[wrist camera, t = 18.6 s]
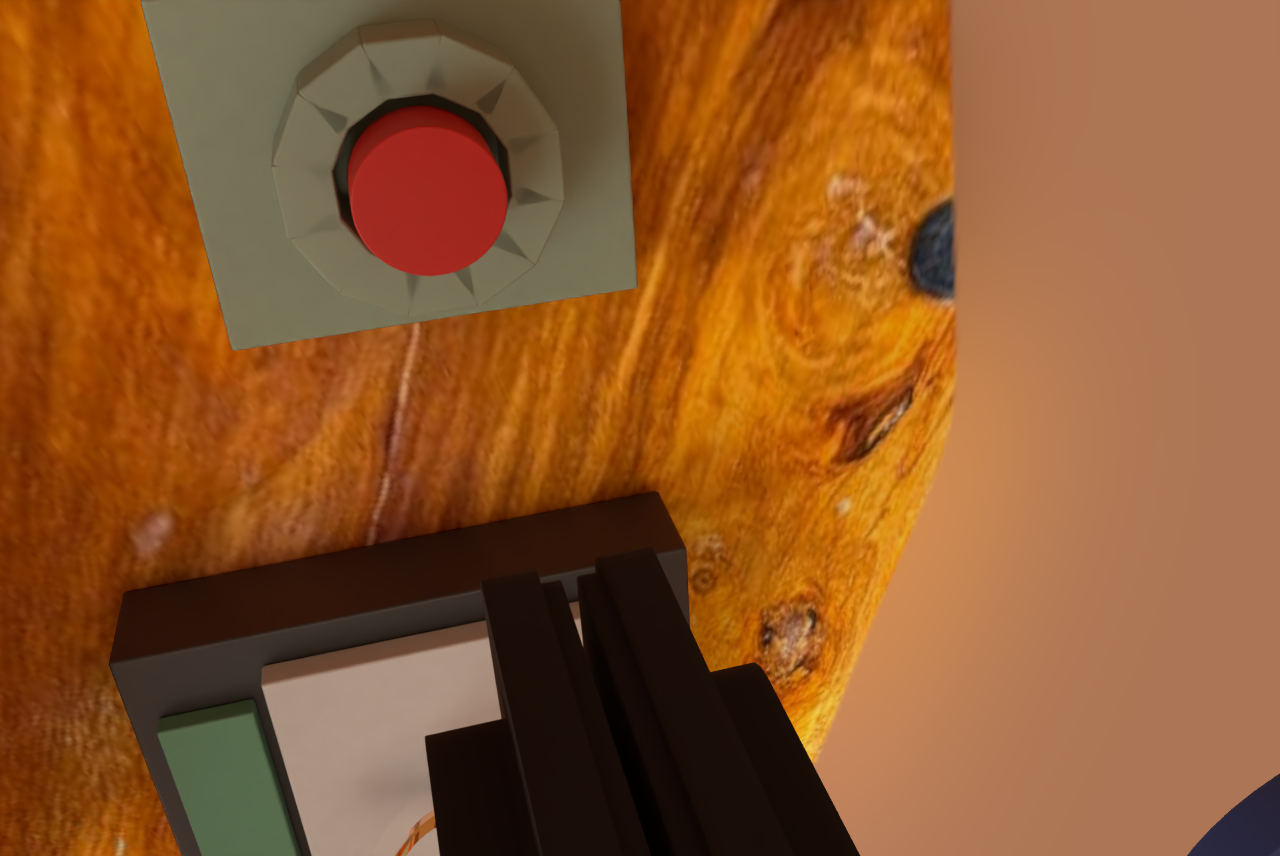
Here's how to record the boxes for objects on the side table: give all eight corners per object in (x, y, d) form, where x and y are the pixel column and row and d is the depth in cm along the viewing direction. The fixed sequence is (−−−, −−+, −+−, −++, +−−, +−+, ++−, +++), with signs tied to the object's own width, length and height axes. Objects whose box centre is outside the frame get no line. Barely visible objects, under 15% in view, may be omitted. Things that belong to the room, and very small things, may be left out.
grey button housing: (605, -55, 26) (639, -36, 24) (627, 271, 30) (657, 317, 28) (145, -10, 24) (128, 15, 22) (234, 331, 28) (228, 386, 26)
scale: (658, 489, 34) (695, 564, 31) (674, 778, 40) (707, 865, 37) (122, 592, 31) (102, 686, 28) (227, 885, 37) (221, 989, 34)
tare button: (486, 95, 25) (498, 117, 23) (503, 237, 26) (515, 265, 25) (334, 114, 24) (336, 136, 23) (361, 257, 26) (365, 287, 24)
